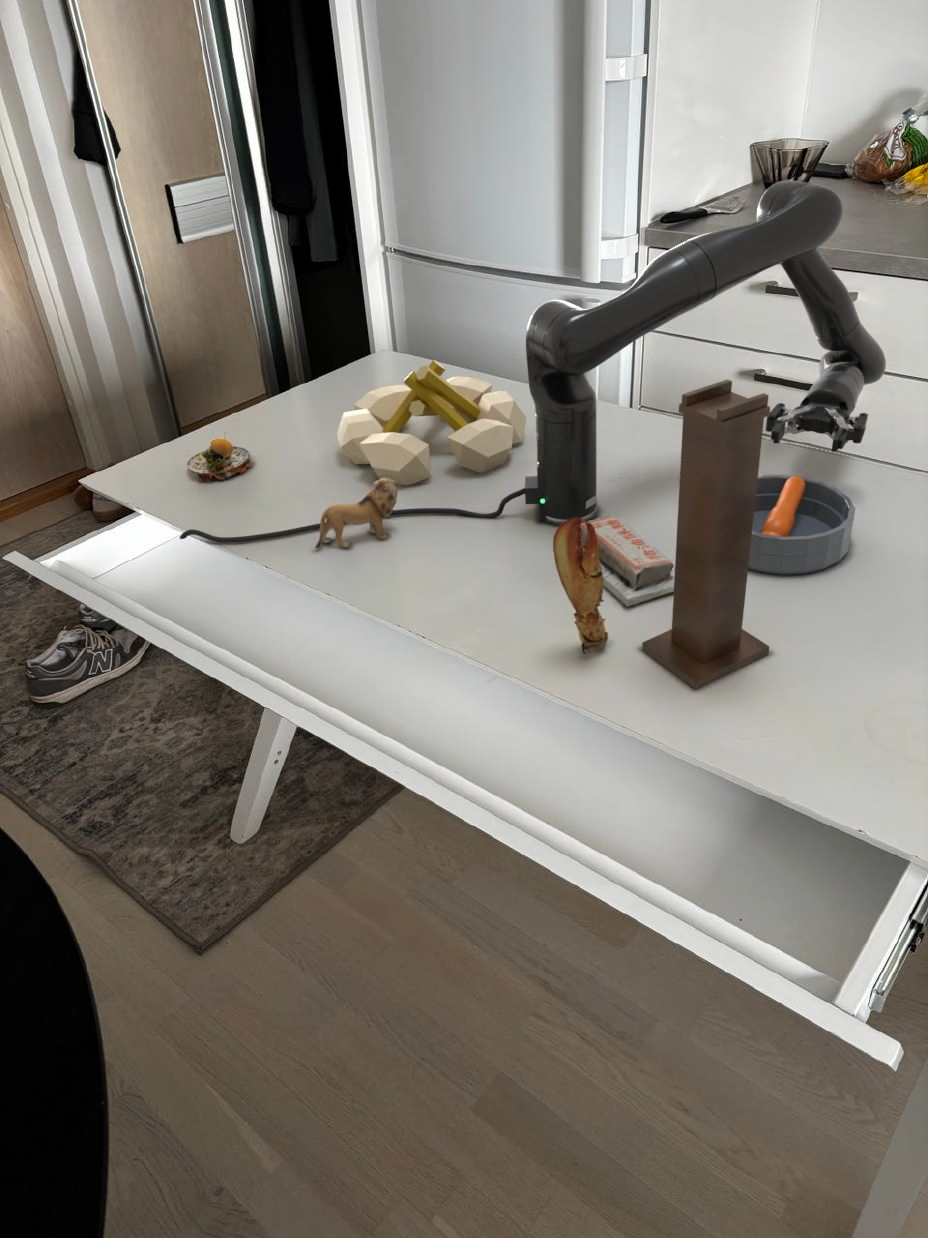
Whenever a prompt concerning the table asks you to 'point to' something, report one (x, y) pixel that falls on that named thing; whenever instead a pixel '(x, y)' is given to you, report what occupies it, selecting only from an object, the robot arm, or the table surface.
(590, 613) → the crab claw
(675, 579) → the stand
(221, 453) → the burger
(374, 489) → the lion figurine
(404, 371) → the table surface
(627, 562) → the packaged product
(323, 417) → the table surface
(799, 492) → the carrot
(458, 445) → the campfire
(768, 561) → the bowl
